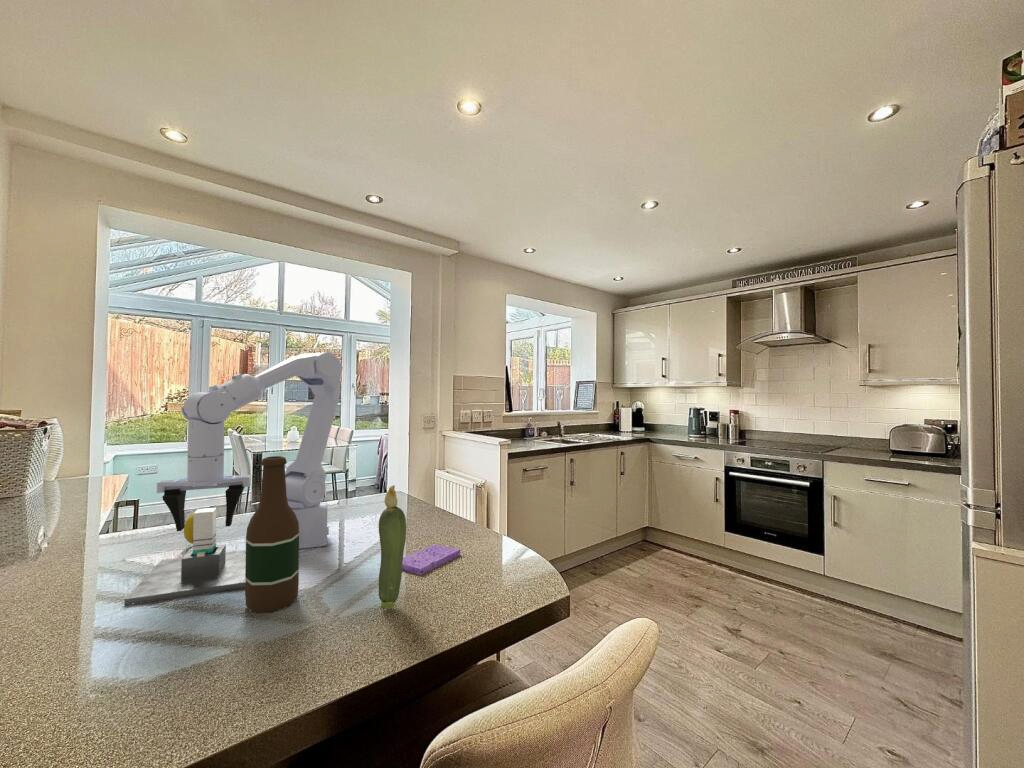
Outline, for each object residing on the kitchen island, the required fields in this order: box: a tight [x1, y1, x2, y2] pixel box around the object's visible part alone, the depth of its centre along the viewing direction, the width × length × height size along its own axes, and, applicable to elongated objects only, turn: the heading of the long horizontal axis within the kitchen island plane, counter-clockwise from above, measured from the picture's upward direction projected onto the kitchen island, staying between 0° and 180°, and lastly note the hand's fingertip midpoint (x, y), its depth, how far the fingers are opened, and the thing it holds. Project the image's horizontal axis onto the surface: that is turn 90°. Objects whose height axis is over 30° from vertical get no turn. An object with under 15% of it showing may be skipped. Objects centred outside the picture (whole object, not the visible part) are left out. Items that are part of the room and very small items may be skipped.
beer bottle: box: [244, 455, 300, 614], centre depth 73 cm, size 8×8×24 cm
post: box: [192, 507, 217, 556], centre depth 84 cm, size 3×3×8 cm
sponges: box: [402, 543, 461, 576], centre depth 92 cm, size 7×13×2 cm, turn 149°
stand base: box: [124, 544, 246, 606], centre depth 84 cm, size 18×18×5 cm
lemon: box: [183, 513, 194, 545], centre depth 99 cm, size 6×6×8 cm
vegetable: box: [378, 485, 407, 611], centre depth 72 cm, size 4×4×20 cm
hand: (205, 527), depth 84 cm, fingers open, 7 cm apart
